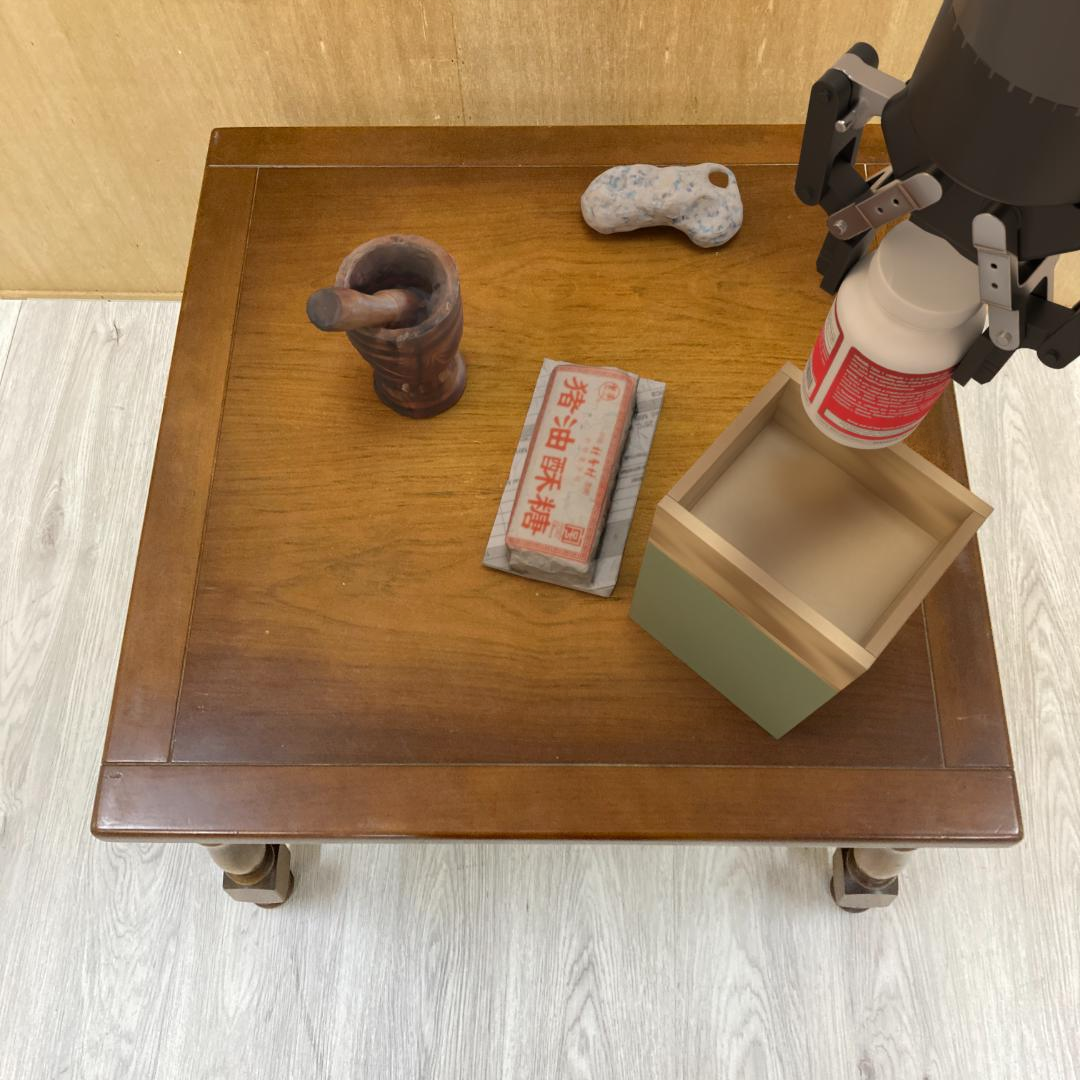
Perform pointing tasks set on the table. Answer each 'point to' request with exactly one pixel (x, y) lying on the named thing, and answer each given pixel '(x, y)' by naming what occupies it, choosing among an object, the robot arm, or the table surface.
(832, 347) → the pill bottle
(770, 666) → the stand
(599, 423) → the packaged product
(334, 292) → the mortar and pestle
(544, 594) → the table surface
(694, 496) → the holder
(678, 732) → the table surface
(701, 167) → the decorative stone
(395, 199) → the table surface
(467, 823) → the table surface
